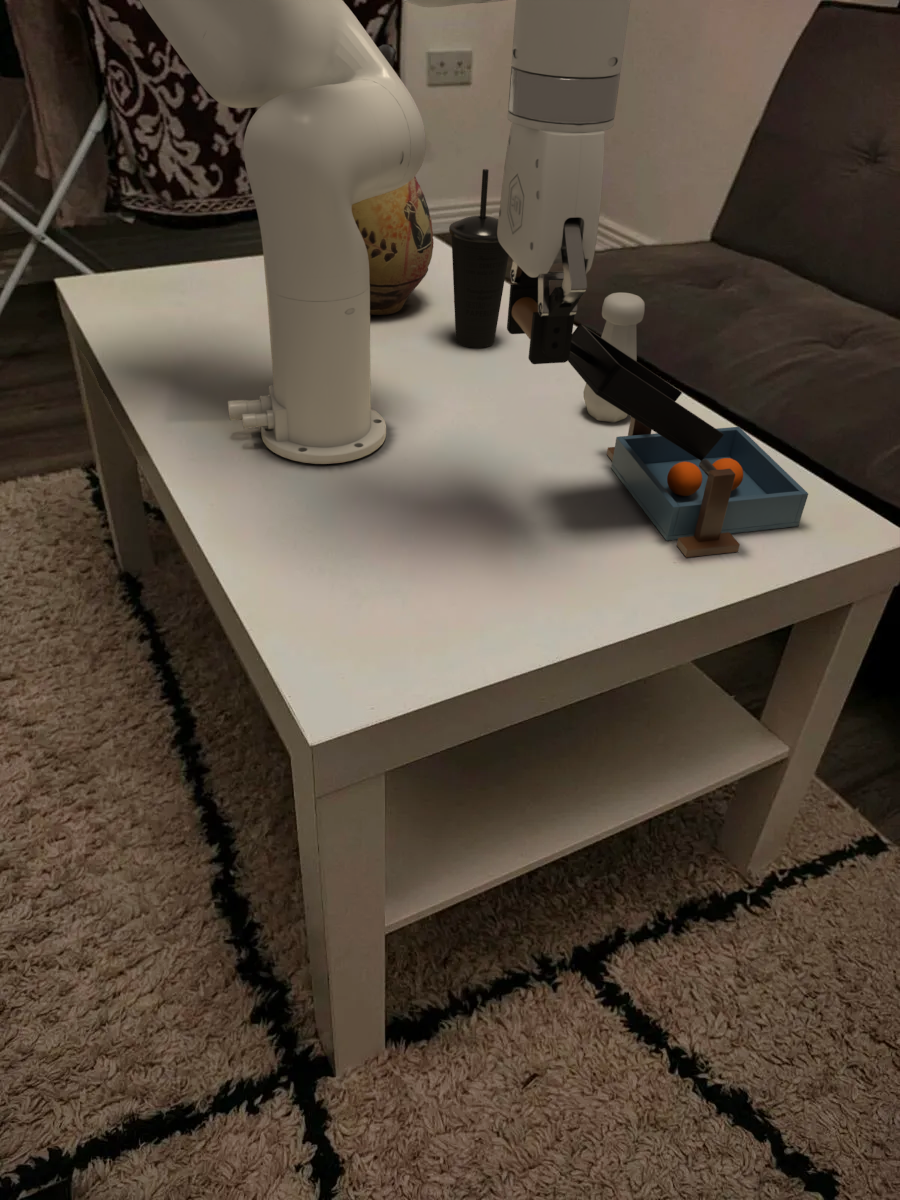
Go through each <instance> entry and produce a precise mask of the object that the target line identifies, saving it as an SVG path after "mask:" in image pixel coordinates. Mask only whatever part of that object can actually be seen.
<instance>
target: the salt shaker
mask: <svg viewBox="0 0 900 1200" xmlns="http://www.w3.org/2000/svg"><path fill="white" fill-rule="evenodd" d="M645 306H646V305H645V301H644V299H642V297H640V296H639V295H636V294H634V293H629V292H613V293H611V294H608V295H607V296H606V297H604V301H603V303H602V307H601V316H602V318H603V319H604V320H605V324H604V328H603V331H602V333H601V336H600V337H601V338H603V339H604V340H606V341H607V342H609V343H610V344H611V345H613V346H614V347H616V348H617V349H619V350H620V351H622V352H623V353H625V354H626V355H628V356H629V357H631V358H632V359H634V360H635V361H637V360H638V359H637V358H638V357H637V356H638V355H637V351H638V349H637V343H638V342H637V325H638V324H639V323H641V322H643V319H644V315H645V311H646V310H645V308H646V307H645ZM637 362H638V361H637ZM583 399H584V403H585V406H586V410H587V413H588V415H589V416H591V417H592V418H594V419H595V420H596V421H598V422H599V421H600V422H606V423H614V424H615V423H617V422H620V421H622V420H624V419H627V417H628V416H629V415H628V414H626V413H624V412H623V411H621V410H620V409H618V408H617V407H615V406H613V405H612V404H610V403H609V402H607V401H605V400H604V399H602V398H601V397H599V396H598V395H596V394H595V393H594V392H593V390H592V389H591V388H590V387H589V386H588V384H587V383H586V382H585V386H584V389H583Z"/></svg>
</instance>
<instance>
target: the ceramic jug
mask: <svg viewBox="0 0 900 1200" xmlns="http://www.w3.org/2000/svg"><path fill="white" fill-rule="evenodd" d="M377 47H378V49H379V50H380V52H381V53H382V54H383V56H384V57H385V58H386V60H387V61H388V63H389V64H390V65H391V67H392V68H393V69H394V65H395V58H396V55H397V50H396V48H393V47H392V46H390V44H381V45H380V46H377ZM396 74H397V75H398V73H397V72H396ZM352 214H353V217H354V220H355V223H356V225H357V227H358V229H359V231H360V233H361V235H362V238H363V240H364V243H365V246H366V249H367V253H368V260H369V284H370V317H371V316H389V315H392V314H395V313H398V312H399V311H401V310H402V309H403V307H404V306H405V303H406V302H407V300H408V298H409V297H410V295H411V294H412V292H413V291H414V290H415V289H416V288H417V287H418V286H419V284H420V283H422V281H423V280H424V278H425V277H426V276H427V274H428V271H429V267H430V264H431V262H432V257H433V252H434V245H435V244H434V243H435V242H434V231H433V222H432V217H431V214H430V209H429V206H428V203H427V200H426V198H425V194H424V192H423V190H422V188H421V185H420V184H419V182H418V180H417V177H416V176H415V177H414V178H413V179H412V180H410V181H409V182H408V183H407V184H405V185H404V186H402V187H400V188H398V189H396V190H393V191H391V192H388V193H385V194H381V195H378V196H375V197H371V198H368V199H365V200H362V201H360V202H358V203H355V204H353V205H352Z"/></svg>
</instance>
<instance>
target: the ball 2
mask: <svg viewBox="0 0 900 1200" xmlns="http://www.w3.org/2000/svg"><path fill="white" fill-rule="evenodd" d="M712 465H713V466H714V467H715V468H716V469H717V470H721V469H731V470H732V471H733V472H734V473H735V478H734V482H733V486H732V490H734V489H736V488H737V487H738V486H739V485H740V484H741V482H742V479H743V469H742V467H741V465H740V464H739V463H738V462H737V461H735V460H733V459H730V458H722V459H719V460H717V461H716V462H714V463H713V464H712ZM732 490H731V491H732Z"/></svg>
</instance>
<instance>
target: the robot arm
mask: <svg viewBox="0 0 900 1200" xmlns="http://www.w3.org/2000/svg"><path fill="white" fill-rule="evenodd" d="M139 1H140V3H141V5H142V7H144V9H145V11H146V12H147V13H148V15H149V16H150V17H151V19H152V20H153V22H154V23H155V24H156V26H157V27H158V29H159V30H160V31H161V33H162V34H163V35H164V37H165V38H166V39H167V41H168V42H169V44H170V45H171V46H172V47H173V49H174V50H175V52H176V53H177V54H178V56H179V57H180V58H181V60H182V62H183V63H184V64H185V66H186V67H187V68H188V70H189V71H190V73H192V75H193V76H194V78H195V79H196V80H197V82H198V83H199V84H200V85H201V86H202V88H203V89H204V90H205V91H206V92H207V93H208V94H209V96H210V97H212V98H213V99H214V100H215V101H216V102H217V103H218V104H220V105H222V106H224V107H227V108H233V109H251V108H258V109H257V110H256V111H255V113H254V114H253V115H252V117H251V118H250V120H249V122H248V124H247V127H246V129H245V132H244V138H243V159H244V166H245V170H246V171H245V172H246V174H247V179H248V182H249V187H250V190H251V195H252V198H253V201H254V202H253V203H254V205H255V211H256V214H257V220H258V224H259V232H260V237H261V245H262V253H263V254H262V255H263V266H264V278H265V279H264V280H265V287H266V300H267V315H268V330H269V342H270V354H271V355H270V357H271V368H272V382H273V385H268V395H260V396H259V399H251V400H246V399H236V400H235V399H234V400H227V408H228V416H229V417H228V418H229V421H242V427H243V429H254V428H259V427H260V431H261V432H260V433H261V439H262V442H263V444H264V445H265V447H266V448H267V449H269V450H270V451H271V452H273V453H275V454H276V455H278V456H280V457H282V458H285V459H288V460H291V461H294V462H299V463H303V464H314V465H327V464H328V465H329V464H340V463H346V462H352V461H355V460H358V459H362V458H364V457H367V456H369V455H371V454H372V453H374V452H375V451H377V450H379V448H380V447H381V446H382V445H383V444H384V443H385V440H386V437H387V423H386V420H385V419H384V418H383V416H382V415H381V414H380V413H379V412H378V411H376V410H374V408H372V405H371V403H372V402H371V401H372V400H371V399H372V398H371V397H372V395H371V393H372V392H371V390H372V388H371V385H372V383H371V380H372V379H371V316H370V284H369V260H368V253H367V249H366V246H365V243H364V240H363V238H362V235H361V233H360V231H359V229H358V227H357V225H356V223H355V220H354V217H353V214H352V205H353V204H355V203H358V202H360V201H362V200H365V199H368V198H371V197H375V196H378V195H381V194H385V193H388V192H391V191H393V190H396V189H398V188H400V187H402V186H404V185H405V184H407V183H408V182H409V181H410V180H412V179H413V178H414V177H416V176H417V174H418V173H419V171H420V170H421V168H422V165H423V163H424V159H425V156H426V150H427V137H426V128H425V125H424V124H425V123H424V121H423V116H422V114H421V111H420V110H419V108H418V106H417V104H416V102H415V99H414V98H413V96H412V95H411V93H410V91H409V89H408V88H407V87H406V85H405V83H404V82H403V81H402V79H401V78H400V77H399V75H398V73H397V72H396V71H395V69H394V67H393V68H392V67H391V65H390V64H389V63H388V61H387V60H386V58H385V57H384V56H383V54H382V53H381V52H380V50H379V49H378V47H379V46H377V44H376V43H375V42H374V39H372V38H371V36H370V35H369V33H368V32H367V30H366V29H365V28H364V26H363V25H362V24H361V22H360V21H359V20H358V18H357V16H356V15H355V14H354V13H353V11H352V10H351V9H350V7H349V6H348V5H347V4H346V3H345V1H344V0H139ZM402 1H403V2H405V3H408V4H411V5H414V6H418V7H423V8H445V7H451V6H461V5H468V4H485V3H486V4H489V3H497V2H504V1H507V0H402ZM630 5H631V0H515V12H514V24H513V25H514V26H513V39H512V50H511V51H512V53H511V63H510V64H511V68H510V79H509V94H508V107H507V116H506V117H507V120H508V121H509V122H510V123H511V126H510V128H509V134H508V140H507V146H506V153H505V159H504V168H503V174H502V175H503V176H502V183H501V192H500V201H499V210H498V217H497V219H498V228H497V236H498V241H499V243H500V245H501V246H502V247H503V249H504V250H505V251H506V252H507V253H508V255H509V257H510V259H512V264H511V268H510V281H511V283H512V284H510V286H509V298H508V308H507V309H508V311H507V320H506V321H507V322H506V330H507V332H508V333H509V334H511V335H523V334H525V332H524V331H523V330H522V329H521V327H520V326H519V325H518V324H517V322H516V321H515V320H514V318H513V316H512V308H513V305H514V304H515V302H516V301H517V300H519V299H520V298H523V297H529V298H532V299H533V300H534V301H535V302H536V303H537V304H538V312H533V318H532V328H531V338H530V339H529V349H528V361H529V362H530V363H531V364H532V365H543V364H546V365H547V364H560V363H561V364H563V363H567V362H568V359H569V355H570V347H571V339H572V334H573V332H574V323H575V316H576V315H577V313H578V304H579V301H580V300H581V297H582V296H583V295H584V294H585V293H586V292H587V289H588V280H587V279H588V278H587V274H588V272H589V271H591V269H592V267H593V263H594V258H595V252H596V248H597V247H596V246H597V240H598V233H599V226H600V224H599V223H600V215H601V205H602V194H603V193H602V192H603V183H604V182H603V181H604V165H605V164H604V163H605V144H606V143H605V141H606V131H608V130H611V129H612V128H613V127H614V126H615V116H616V109H617V103H618V102H617V101H618V93H619V86H620V79H621V72H622V65H623V57H624V49H625V43H626V36H627V29H628V21H629V14H630ZM396 73H397V74H396ZM555 264H557V265H558V264H562V270H559V271H550V270H551V268H552V267H553V265H555ZM551 281H562V282H561V283H560V286H556V287H554V288H553V290H552V291H551V290H550V289H551V288H550V287H551V283H550V282H551ZM550 291H551V293H550ZM525 335H526V334H525Z"/></svg>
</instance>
